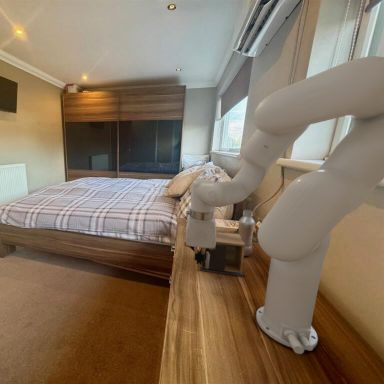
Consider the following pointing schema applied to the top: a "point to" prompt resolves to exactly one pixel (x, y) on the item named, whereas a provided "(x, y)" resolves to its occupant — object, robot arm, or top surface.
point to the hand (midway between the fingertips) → (198, 262)
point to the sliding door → (215, 258)
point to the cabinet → (229, 254)
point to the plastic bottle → (247, 230)
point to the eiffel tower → (248, 209)
